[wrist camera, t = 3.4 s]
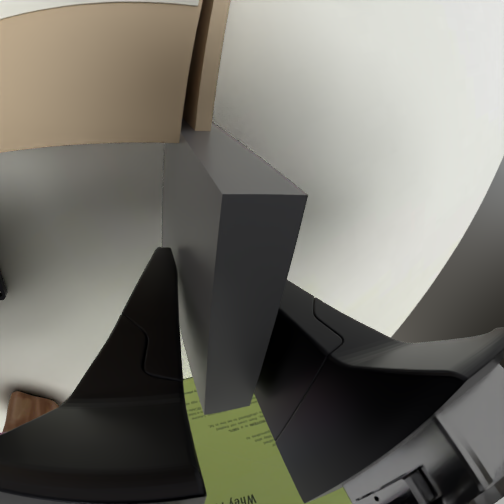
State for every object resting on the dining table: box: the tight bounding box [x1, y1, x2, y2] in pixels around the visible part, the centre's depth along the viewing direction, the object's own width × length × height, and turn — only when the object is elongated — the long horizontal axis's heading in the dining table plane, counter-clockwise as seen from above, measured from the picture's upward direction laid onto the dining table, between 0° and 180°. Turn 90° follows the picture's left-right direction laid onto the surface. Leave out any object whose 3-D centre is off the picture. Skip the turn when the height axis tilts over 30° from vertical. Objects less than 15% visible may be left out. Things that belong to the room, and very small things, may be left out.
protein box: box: [183, 378, 352, 504], centre depth 22 cm, size 10×15×16 cm
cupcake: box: [0, 391, 59, 435], centre depth 16 cm, size 9×9×10 cm
